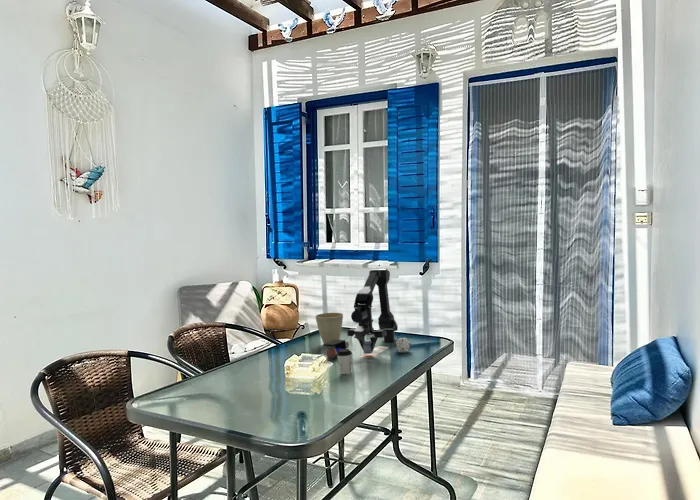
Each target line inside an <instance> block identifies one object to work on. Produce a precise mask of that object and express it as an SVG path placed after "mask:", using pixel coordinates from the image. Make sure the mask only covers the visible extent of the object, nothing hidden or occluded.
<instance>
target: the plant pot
mask: <svg viewBox="0 0 700 500" xmlns="http://www.w3.org/2000/svg"><path fill="white" fill-rule="evenodd" d="M343 320H344V313H343V312H342V313H341V312H325V313H324V312H323V313H319V314H316V315H315V321H316V326H317V329H318V332H319V336H320V338H321V340H322V342H323V344H326V343H328V342H331V341H333V340H340V336H341V334H342V333H341V332H342V328H343Z"/></svg>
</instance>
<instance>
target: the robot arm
mask: <svg viewBox="0 0 700 500" xmlns="http://www.w3.org/2000/svg"><path fill="white" fill-rule="evenodd" d="M390 276H391V273H390V271H389V270H388V269H387V268H377V269H376V268H374V269H373V268H372V269H369V273H368V276H367V278H366V281H365V283H364V285H363V287H362V288H361V289H359V290H358V292H357V293H356V295H355V299H354V303H353V304H354V305H353V309H354V310H353V312H351V315H350V317H351V320H352V321H353V322H354V323H355V324H358V326H356V327H352V328H350V329H348V330H347V333H346V334H347V337H353V338H354V339H356V340H357V341H358V342H359V344H360V347H361V349H362V350H363V344H364V341H366V339H365V337H366V336H371V337H369V340H370V341H371V350H372V351H373V350H374V348H376V347H375V346H376V343H377V340H378V339H382V338H383V340H382V341H381V343H389V344H393V343H396V342H397V339H398V338H397V339H396V337H395V332H396V331H398V323H397V321H396V320H395V316H394V314H393V313H392V312H391V308H390V297H389V291H388V284H389V282H390ZM376 286H377V288H378V289H377V290H378V296H379V297H378V298H379V305H380V307H379V308H380V315H379V316H378V318H377V320H378V329H376V330H374V329H375V328H374V327H373V322H374V319H373V317H372V307H373V302H374V295H373V294H374V293H373V292H374V289H375V287H376Z"/></svg>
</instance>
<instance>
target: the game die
mask: <svg viewBox="0 0 700 500" xmlns="http://www.w3.org/2000/svg"><path fill="white" fill-rule="evenodd" d="M396 338H397V340H396V341H395V345H394V347H396V350H397V352H398V354H400V353H408V354H409V353H410V348H411V346H412V343H410V341H409V339H408V338H409V336H406V337H399V336H396Z"/></svg>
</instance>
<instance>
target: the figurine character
mask: <svg viewBox="0 0 700 500" xmlns="http://www.w3.org/2000/svg"><path fill="white" fill-rule="evenodd" d="M322 346H323V347H324V346H327V347H328V346H331V347H329V348H328V349H327V350H326V352H325V353H326V356H327V357H328V358H330V359H334V358H336V357H337V355H336V354H337V352H339V350H340V349H349V347H350V343H349V342H348V341H346V339H339V340H333V341H331V342H328V343H326V344H324V343H323V345H322ZM332 346H333V347H332Z"/></svg>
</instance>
